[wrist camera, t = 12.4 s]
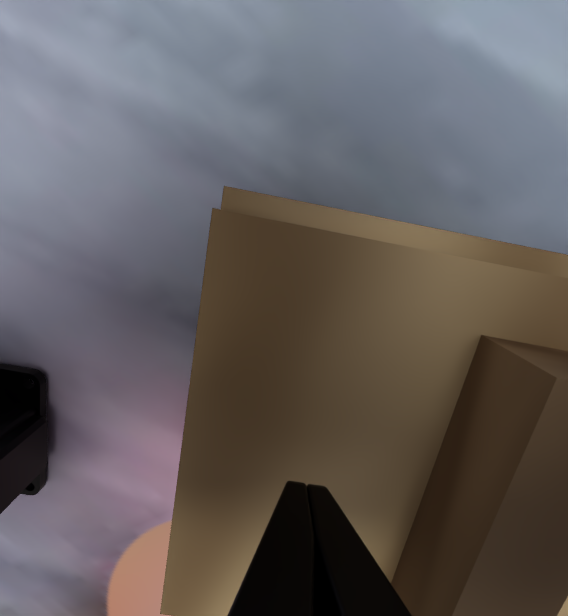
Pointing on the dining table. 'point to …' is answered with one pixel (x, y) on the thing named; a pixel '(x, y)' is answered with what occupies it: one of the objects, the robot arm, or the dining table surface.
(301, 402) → the lid
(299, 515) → the robot arm
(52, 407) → the dining table surface
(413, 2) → the dining table surface
